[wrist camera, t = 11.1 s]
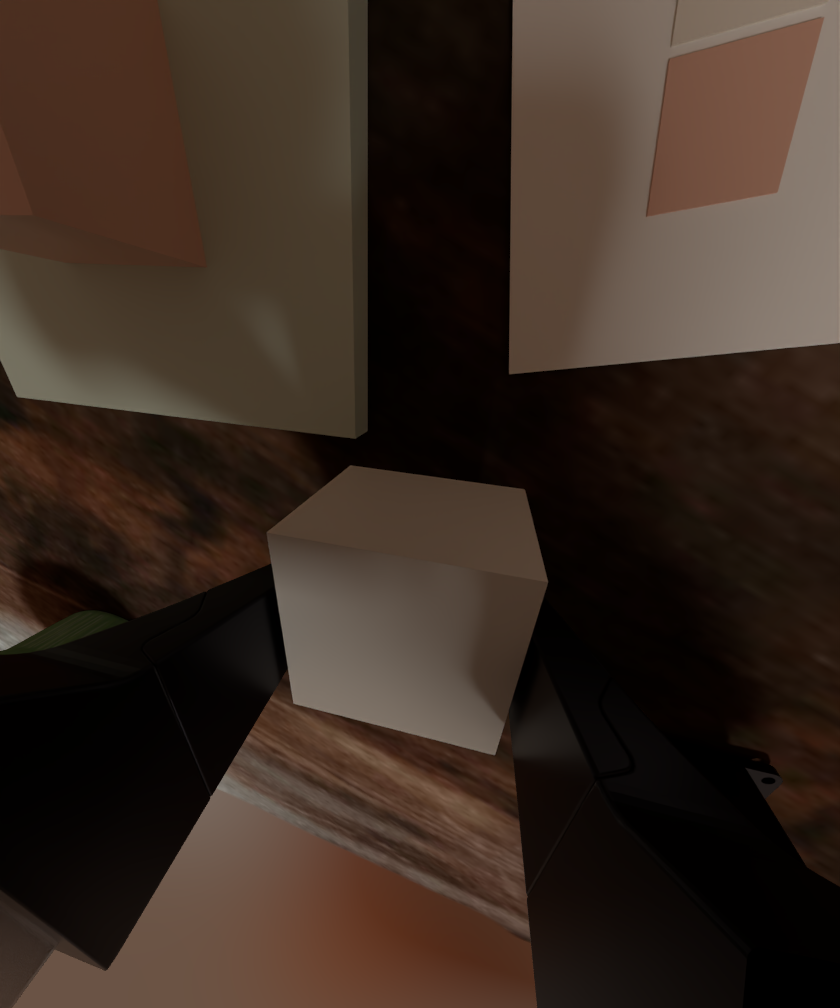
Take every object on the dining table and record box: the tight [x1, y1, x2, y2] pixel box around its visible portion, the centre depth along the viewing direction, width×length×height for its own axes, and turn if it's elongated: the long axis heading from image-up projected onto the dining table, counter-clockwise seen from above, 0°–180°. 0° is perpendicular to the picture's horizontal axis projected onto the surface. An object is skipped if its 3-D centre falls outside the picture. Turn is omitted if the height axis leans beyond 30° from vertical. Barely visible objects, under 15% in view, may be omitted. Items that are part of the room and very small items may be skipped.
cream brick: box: [267, 465, 548, 755], centre depth 8 cm, size 5×5×4 cm
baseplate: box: [0, 0, 368, 439], centre depth 9 cm, size 14×14×1 cm
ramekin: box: [0, 610, 128, 655], centre depth 20 cm, size 9×9×4 cm
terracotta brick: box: [0, 0, 207, 267], centre depth 7 cm, size 5×5×4 cm
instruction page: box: [509, 0, 840, 374], centre depth 7 cm, size 12×9×1 cm
